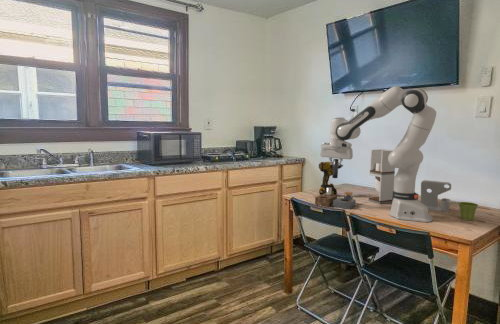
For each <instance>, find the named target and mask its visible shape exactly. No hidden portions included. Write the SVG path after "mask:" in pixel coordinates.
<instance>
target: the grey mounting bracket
mask: <svg viewBox="0 0 500 324" xmlns="http://www.w3.org/2000/svg"><path fill="white" fill-rule="evenodd" d="M446 185H448V186H449V187H445V186H446ZM428 189H429V190H431V191H430V192H428V191H427V190H428ZM451 189H452V183H450V182H448V181H439V180H429V179H428V180H427V179H424V180H422V181H421V182H420V201H421V202H422V203H423V204H424V205H425V206H427V208H428V211H435V212H443V213H449V212H450V209H451V208H450V207H451V199H449V198H445V197H444V198H442V199H441V200H440V205H439V206H438V199H439V197H438V196H439V195H442V194H445V193H446V192H449V191H451Z"/></svg>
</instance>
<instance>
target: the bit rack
mask: <svg viewBox="0 0 500 324" xmlns="http://www.w3.org/2000/svg"><path fill="white" fill-rule="evenodd" d="M337 198H338V194H337V195H334V194H331V196H326V193H324V194H322V195H320V194H319V195H318V196H315V200H314V205H315V204H316V205H315V206H317V205H321V206H320V207H324V206H326V207H325V208H329V207H331V206H333V200H335V199H337Z"/></svg>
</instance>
